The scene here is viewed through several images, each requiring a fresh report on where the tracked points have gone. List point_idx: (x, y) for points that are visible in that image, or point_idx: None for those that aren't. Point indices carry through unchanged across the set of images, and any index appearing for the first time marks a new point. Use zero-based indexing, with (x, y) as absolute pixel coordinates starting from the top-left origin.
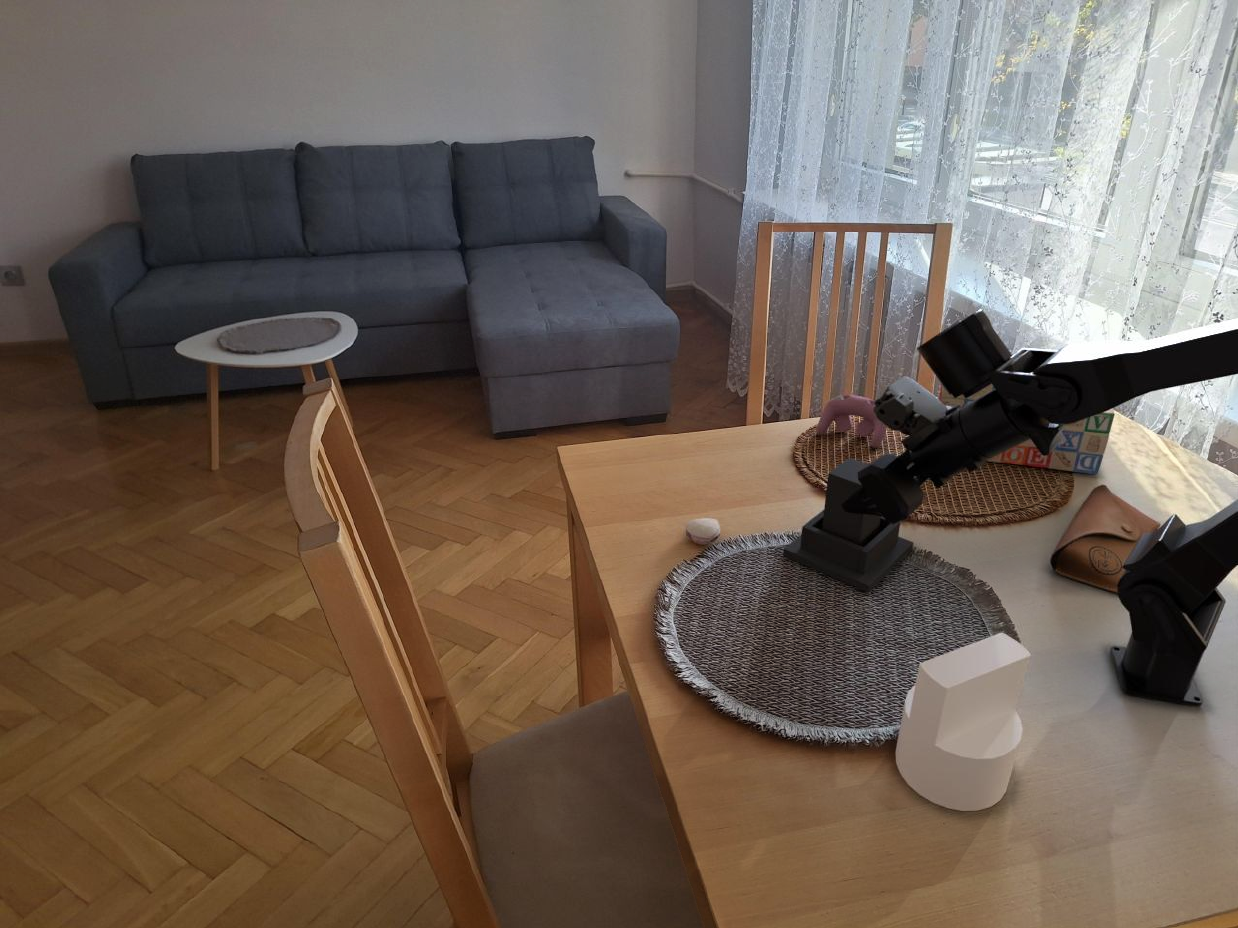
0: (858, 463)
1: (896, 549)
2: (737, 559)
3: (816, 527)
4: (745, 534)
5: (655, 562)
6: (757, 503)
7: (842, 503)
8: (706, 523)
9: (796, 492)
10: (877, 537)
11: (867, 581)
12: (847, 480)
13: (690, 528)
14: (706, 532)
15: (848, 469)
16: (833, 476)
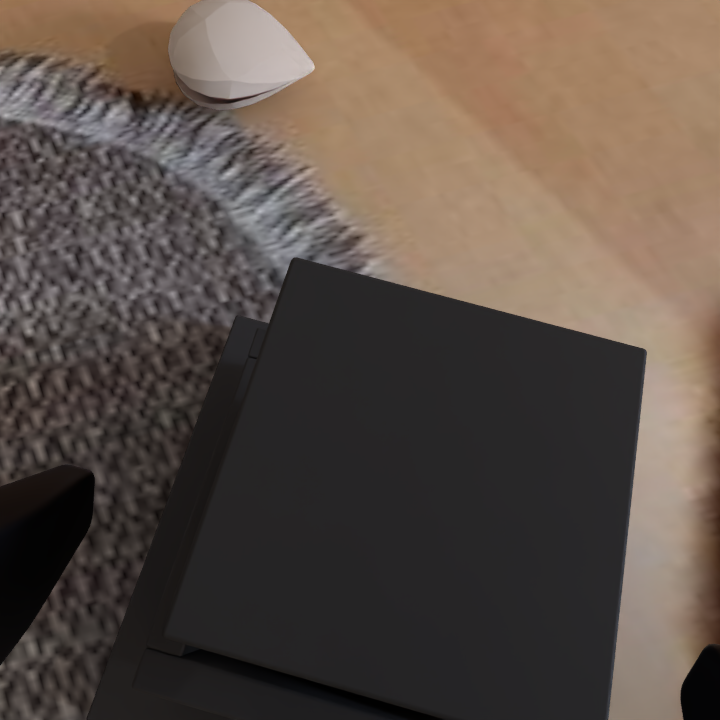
0: (583, 446)
1: None
2: (160, 201)
3: None
4: (321, 183)
5: (59, 8)
6: (531, 165)
7: (47, 471)
8: (223, 34)
9: (681, 261)
10: (303, 709)
11: (116, 705)
12: (234, 427)
13: (189, 7)
14: (182, 53)
15: (431, 390)
16: (279, 307)
